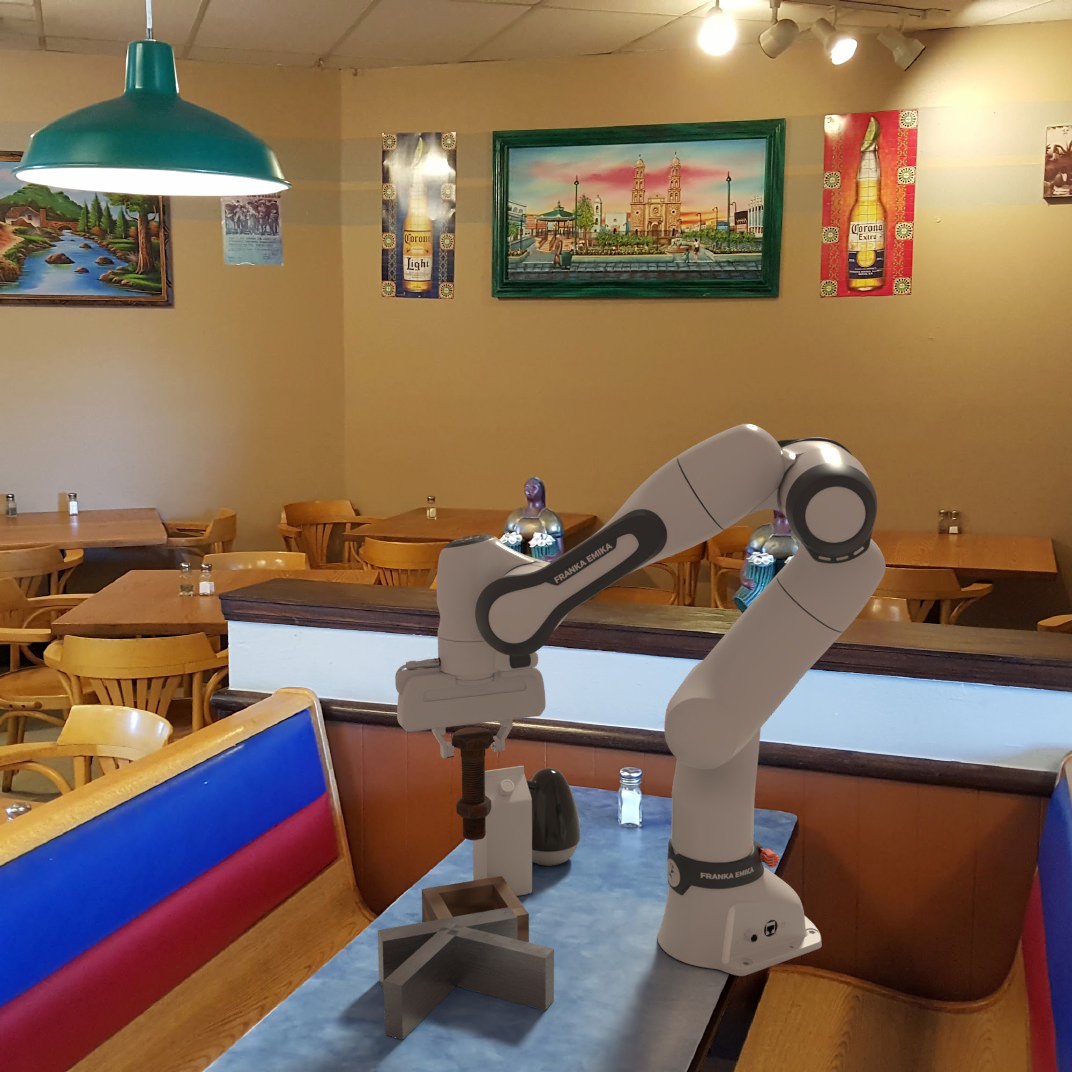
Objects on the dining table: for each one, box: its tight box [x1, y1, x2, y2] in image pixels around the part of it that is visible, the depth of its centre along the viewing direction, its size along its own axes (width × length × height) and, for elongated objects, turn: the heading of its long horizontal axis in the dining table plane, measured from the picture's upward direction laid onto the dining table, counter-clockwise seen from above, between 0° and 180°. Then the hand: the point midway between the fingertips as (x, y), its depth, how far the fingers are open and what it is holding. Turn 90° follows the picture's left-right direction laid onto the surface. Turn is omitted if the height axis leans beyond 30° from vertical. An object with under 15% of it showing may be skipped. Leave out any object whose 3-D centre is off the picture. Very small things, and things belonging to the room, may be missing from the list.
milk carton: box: [472, 765, 533, 897], centre depth 171 cm, size 7×7×19 cm
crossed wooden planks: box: [377, 907, 555, 1040], centre depth 143 cm, size 22×14×7 cm, turn 110°
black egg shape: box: [526, 767, 581, 867], centre depth 181 cm, size 10×10×15 cm
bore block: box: [421, 876, 530, 943], centre depth 158 cm, size 12×12×5 cm
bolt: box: [451, 727, 494, 841], centre depth 155 cm, size 6×5×15 cm
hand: (472, 753), depth 154 cm, fingers closed on bolt, 6 cm apart
